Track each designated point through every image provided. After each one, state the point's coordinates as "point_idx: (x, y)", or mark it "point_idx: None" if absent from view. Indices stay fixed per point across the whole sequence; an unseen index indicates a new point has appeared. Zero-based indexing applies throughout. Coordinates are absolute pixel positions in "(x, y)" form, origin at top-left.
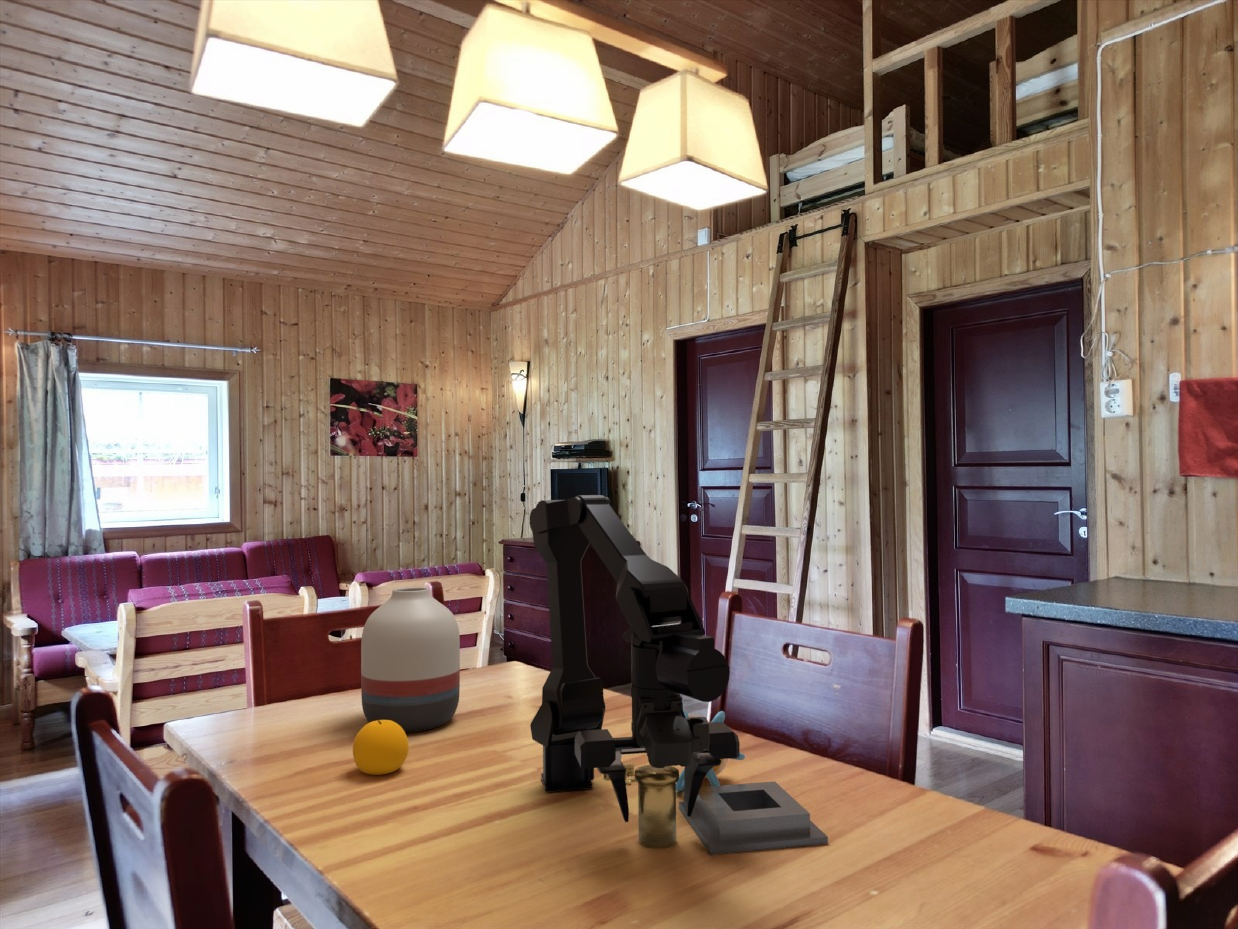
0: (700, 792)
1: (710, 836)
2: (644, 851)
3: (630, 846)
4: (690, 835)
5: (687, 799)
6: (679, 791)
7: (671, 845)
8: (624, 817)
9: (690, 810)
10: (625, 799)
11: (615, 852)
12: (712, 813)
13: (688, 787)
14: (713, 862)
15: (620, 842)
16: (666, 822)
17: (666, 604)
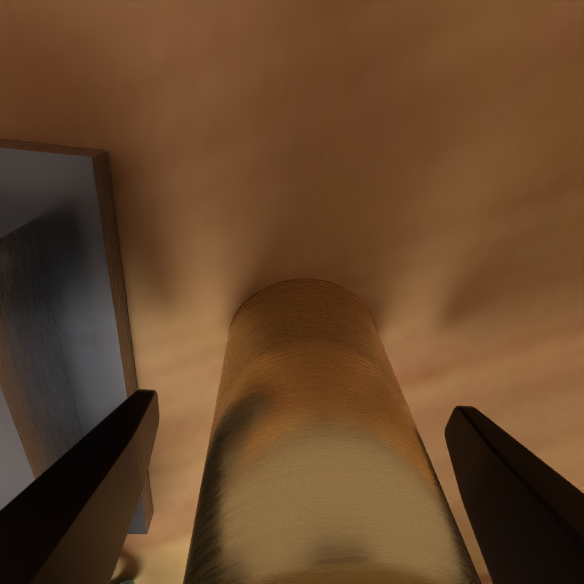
0: None
1: (74, 277)
2: (389, 276)
3: (417, 328)
4: (161, 352)
5: (122, 474)
6: (127, 580)
7: (265, 290)
8: (492, 421)
9: (128, 410)
10: (564, 508)
11: (495, 299)
12: (4, 381)
13: (78, 562)
14: (111, 60)
15: (434, 364)
16: (296, 345)
17: None
